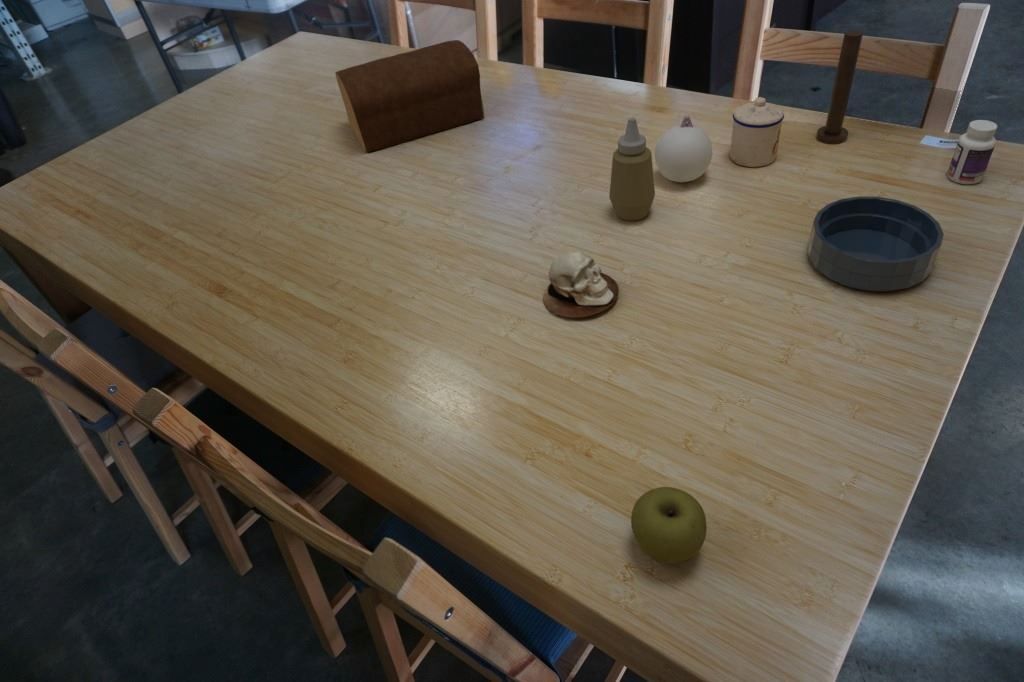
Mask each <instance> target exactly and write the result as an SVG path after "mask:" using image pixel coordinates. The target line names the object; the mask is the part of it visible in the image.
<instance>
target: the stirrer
mask: <svg viewBox="0 0 1024 682" xmlns="http://www.w3.org/2000/svg"><path fill="white" fill-rule="evenodd" d="M863 35H864V32H863V31H862V30H859V29H849V30H846V31H845V32H844V35H843V38H842V43H841V48H840V54H839V58H838V63H837V67H836V72H835V78H834V83H833V88H832V92H831V97H830V102H829V107H828V111H827V117H826V122H825V125H823V126H820V127H819V128H818V129H817V130H816V135H815V137H816V139H817V141H818V142H820V143H823V144H828V145H839V144H842V143H845V142H846V141H847V140H848V136H849V130H848V129H847V128H845V127H843V125H844V120H845V116H846V112H847V106H848V103H849V99H850V93H851V89H852V86H853V81H854V76H855V71H856V68H857V67H856V66H857V63H858V59H859V54H860V49H861V45H862V42H863V41H862V40H863Z"/></svg>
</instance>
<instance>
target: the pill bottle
mask: <svg viewBox="0 0 1024 682" xmlns="http://www.w3.org/2000/svg"><path fill="white" fill-rule="evenodd" d="M997 130H998V124H997V123H996V122H993V121H991V120H987V119H976V120H975V119H974V120H972V121H970V122H969V124H968V126H967V129H966V132H965V133H962V135H960V136H959V138H958V141H957V143H956V146H955V149H954V152H953V155H952V158H951V160H950V163H949V166H948V169H947V173H946V176H947V178H948V179H949V180H950V181H952V182H954V183H957V184H961V185H974V184H978V183H979V182H981V181H982V179H983V178H984V176H985V173H986V170H987V168H988V165H989V163H990V159H991V158H992V154H993V153H994V150H995V147H996V144H997V140H996V137H995V134H996V132H997Z"/></svg>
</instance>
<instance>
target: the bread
mask: <svg viewBox="0 0 1024 682" xmlns="http://www.w3.org/2000/svg"><path fill="white" fill-rule="evenodd" d="M334 74H335V79H336V82H337V86H338V89H339V91H340V95H341V98H342V101H343V105H344V108H345V111H346V115H347V118H348V121H349V125H350V127H351V129H352V131H353V133H354V135H355V137H356V139H357V141H358V142H359V144H360V146H361V148H362V149H363V150H364V151H365V152H366V153H369V152H370V153H371V152H374V151H376V150H377V151H378V150H382V149H384V148H387V147H391V146H395V145H398V144H401V143H405V142H409V141H412V140H416V139H419V138H422V137H426V136H428V135H432V134H435V133H439V132H442V131H443V132H444V131H445V130H448V129H453V128H455V127H458V126H461V125H464V124H468V123H471V122H474V121H477V120H480V119H484V117H485V109H484V102H483V98H482V92H481V91H482V90H481V73H480V68H479V64H478V62H477V59H476V56H475V54H474V53H473V52H472V51H471V50H470V48H469V47H468V46H467V45H466V44H465V43H464V42H463V41H461V40H459V39H454V40H453V39H452V40H447V41H443V42H439V43H435V44H433V45H428V46H425V47H421V48H417V49H414V50H410V51H406V52H402V53H401V52H400V53H398V54H394V55H391V56H387V57H382V58H378V59H375V60H371V61H368V62H365V63H361V64H357V65H353V66H350V67H347V68H344V69H341V70H337V71H335V73H334Z"/></svg>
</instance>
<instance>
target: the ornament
mask: <svg viewBox="0 0 1024 682" xmlns="http://www.w3.org/2000/svg"><path fill="white" fill-rule="evenodd" d="M712 158H713V145H712V142H711V139H710V137H709V135H708V133H707V132H705V130H704V129H702V128H700V127H699V126H697V125H693V122H692V120H691V117H690V115H684V117H683V118H682V121H681V123H680V124H677V125H674V126H672V127H670V128H668V129H667V130H665V131H664V132H663V133H662V134H661V135H660V137H659V138H658V140H657V142H656V145H655V148H654V161H655V164H656V165H655V166H656V167H657V169H658V171H659V172H660V174H661V176H663V177H665V179H667V180H670V181H672V182H676V183H688V182H692V181H694V180H696V179H698V178H699V177H702V175H703V174H704V173H705V172H706V171H707V170H708V168H709V167H710V164H711V162H712Z"/></svg>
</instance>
